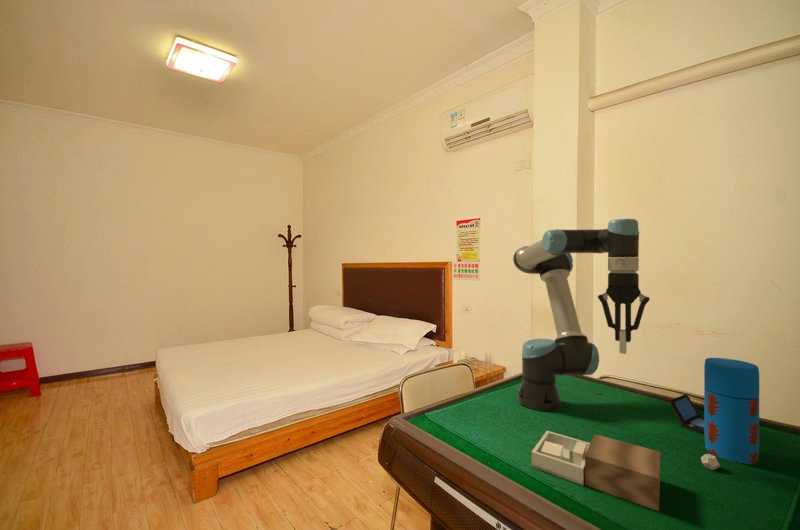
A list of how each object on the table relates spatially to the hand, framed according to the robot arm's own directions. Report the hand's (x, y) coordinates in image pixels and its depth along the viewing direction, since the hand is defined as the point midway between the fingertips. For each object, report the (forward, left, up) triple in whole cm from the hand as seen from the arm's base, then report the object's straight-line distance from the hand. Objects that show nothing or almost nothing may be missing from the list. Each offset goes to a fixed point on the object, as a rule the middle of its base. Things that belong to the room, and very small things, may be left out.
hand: (623, 352), depth 101 cm
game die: (+19, -1, -27) cm, 33 cm away
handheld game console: (+18, +28, -27) cm, 42 cm away
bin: (-11, -22, -26) cm, 36 cm away
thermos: (+24, +11, -27) cm, 37 cm away
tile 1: (-14, -24, -23) cm, 35 cm away
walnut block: (+2, -22, -26) cm, 34 cm away
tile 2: (-6, -22, -23) cm, 33 cm away
